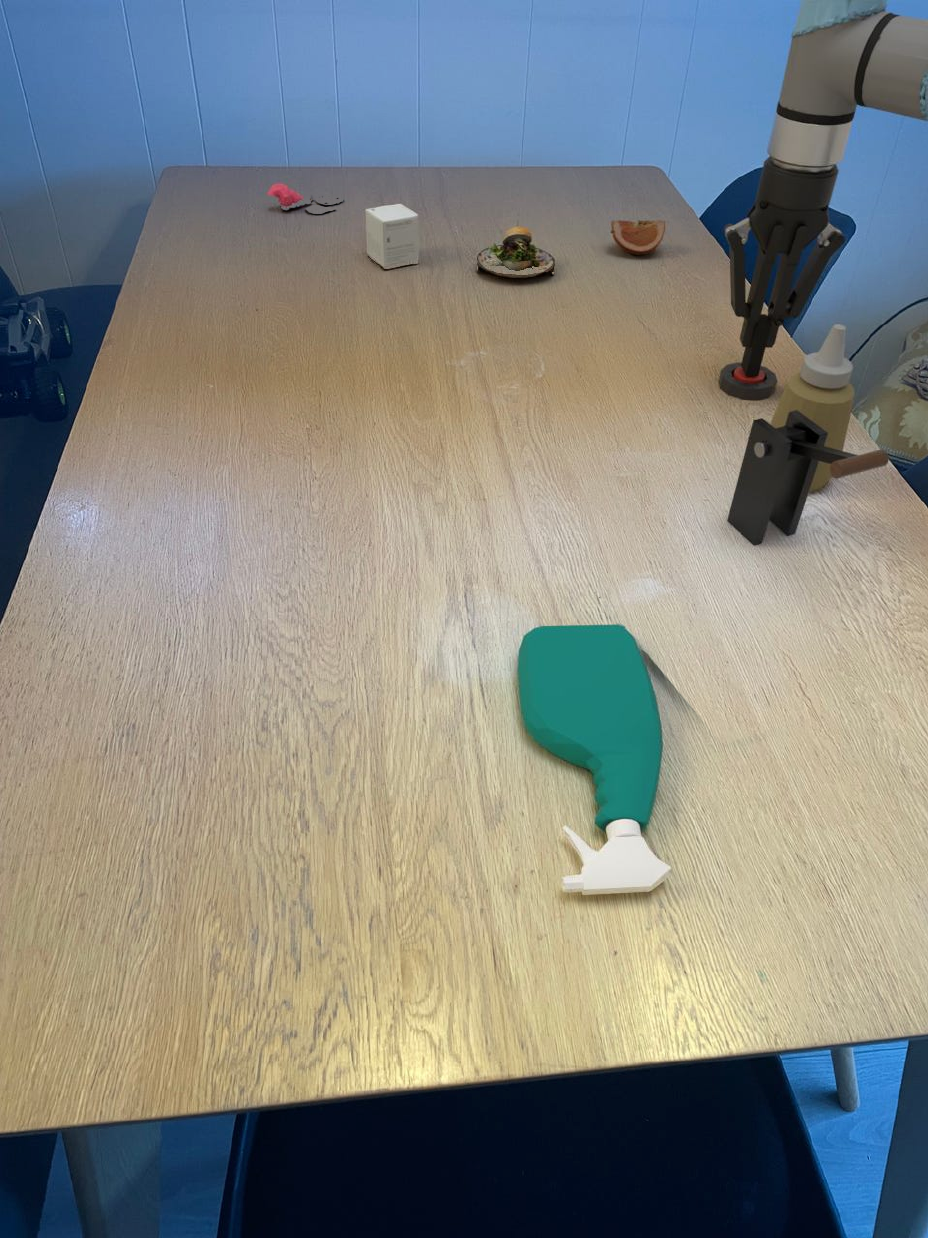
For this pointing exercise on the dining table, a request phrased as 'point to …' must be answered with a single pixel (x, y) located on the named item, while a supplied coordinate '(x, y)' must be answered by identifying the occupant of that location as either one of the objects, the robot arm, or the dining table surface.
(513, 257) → the burger
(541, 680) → the spray bottle
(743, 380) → the button
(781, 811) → the dining table surface
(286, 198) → the pink fuzzy curved piece
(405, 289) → the dining table surface
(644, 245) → the fruit slice
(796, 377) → the squeeze bottle
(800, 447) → the lever
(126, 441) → the dining table surface
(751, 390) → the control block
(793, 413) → the bracket
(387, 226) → the product box
